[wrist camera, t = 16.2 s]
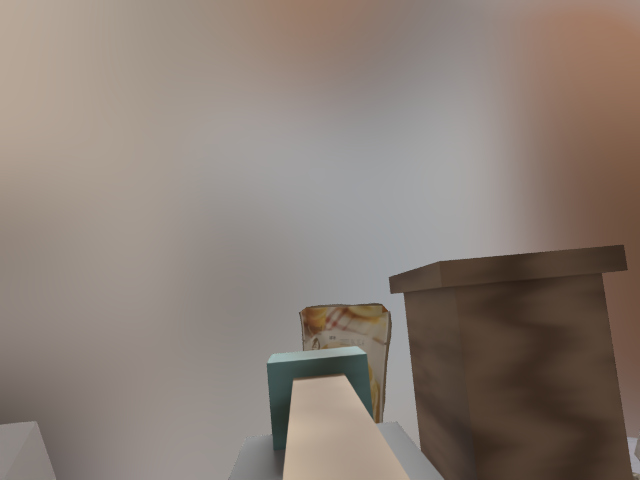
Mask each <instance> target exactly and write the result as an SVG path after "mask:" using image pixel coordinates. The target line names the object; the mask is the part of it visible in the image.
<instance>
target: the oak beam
mask: <svg viewBox="0 0 640 480" xmlns="http://www.w3.org/2000/svg"><path fill="white" fill-rule="evenodd" d="M267 373H268V385H269V397H270V410H271V424H272V436H273V449H274V450H283V449H286V453H285V462H284V472H283V480H410V478H409V477H408V475H407V474H406V472H405V470H404V469H403V467H402V466H401V464H400V462H399V461H398V459H397V458H396V456H395V454H394V453H393V451H392V450H391V448H390V446H389V445H388V443H387V442H386V440H385V438H384V437H383V435H382V434H381V432H380V430H379V429H378V427H377V426H376V424H375V422H374V419H373V409H372V399H371V389H370V379H369V369H368V359H367V353H365V352H364V351H363V350H361V349H360V348H359V347H357V346H352V347H342V348H332V349H321V350H311V351H302V352H291V353H280V354H272V355H271V357H270V359H269V361H268V362H267Z"/></svg>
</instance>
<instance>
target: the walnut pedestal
mask: <svg viewBox="0 0 640 480" xmlns="http://www.w3.org/2000/svg"><path fill="white" fill-rule="evenodd" d="M624 270H628V269H627V263H626V256H625V250H624V245H615V246H604V247H593V248H582V249H571V250H560V251H550V252H538V253H527V254H516V255H504V256H493V257H482V258H473V259H472V258H471V259H460V260H449V261H439V262H436V263H433V264H429V265H426V266H423V267H420V268H417V269H414V270H410V271H407V272H404V273H401V274H398V275H394V276H391V277H389V283H390V292H391V294H393V293H404V300H405V308H406V318H407V327H408V337H409V345H410V355H411V363H412V373H413V382H414V391H415V400H416V409H417V419H418V428H419V436H420V446H421V452H422V453H423V454H424V455H425V456H426V458H427V459H428V460H429V461H430V463H431V464H432V465H433V466H434V467H435V469H436V470H437V471H438V472H439V474H440V475H441V476H442V477H443V478H444V480H633V475H632V469H631V462H630V456H629V449H628V442H627V436H626V429H625V423H624V417H623V410H622V403H621V398H620V390H619V384H618V377H617V370H616V364H615V357H614V351H613V344H612V338H611V331H610V325H609V318H608V312H607V305H606V298H605V292H604V285H603V279H602V273H606V272H615V271H624Z"/></svg>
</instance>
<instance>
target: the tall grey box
mask: <svg viewBox="0 0 640 480" xmlns="http://www.w3.org/2000/svg"><path fill="white" fill-rule="evenodd" d="M376 426H377V427H378V429H379V430H380V432H381V434H382V435H383V437H384V438H385V440H386V442H387V443H388V445H389V446H390V448H391V450H392V451H393V453H394V454H395V456H396V458H397V459H398V461H399V462H400V464H401V466H402V467H403V469H404V470H405V472H406V474H407V475H408V477H409V478H410V480H444V478H443V477H442V476H441V475H440V474H439V472H438V471H437V470H436V469H435V467H434V466H433V465H432V464H431V463H430V461H429V460H428V459H427V458H426V456H425V455H424V454H423V453H422V452H421V450H420V449H419V448H418V447H417V446H416V444H415V443H414V442H413V441H412V440H411V438H410V437H409V436H408V435H407V433H406V432H405V431H404V430H403V428H402V427H401V426H400V425H399V424H398V422H387V423H378V424H376ZM285 453H286V449H283V450H274V449H273V436H272V434H271V435H262V436H252V437H246V438H245V441H244V444H243V446H242V448H241V451H240V453H239V455H238V458H237V460H236V462H235V465H234V467H233V470H232V472H231V475H230V477H229V479H228V480H283V472H284V462H285Z"/></svg>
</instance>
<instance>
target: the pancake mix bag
mask: <svg viewBox="0 0 640 480" xmlns="http://www.w3.org/2000/svg"><path fill="white" fill-rule="evenodd" d="M299 314H300V319H301V325H302V336H303V351H311V350H321V349H332V348H342V347H352V346H357V347H359V348H360V349H361V350H363V351H364V352H365V353H367V359H368V369H369V379H370V389H371V399H372V409H373V419H374V422H375V424H378V423H383V412H384V404H385V388H386V387H385V386H386V372H387V360H388V351H389V344H390V339H391V327H392V322H391V314H390V311H388V310H387V309H386V308H385V307H384V306H383V305H382V304H378V303H371V304H358V305H343V304H332V305H318V306H311V307H306V308H305V309H303V310H302V311H301V312H299Z"/></svg>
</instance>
